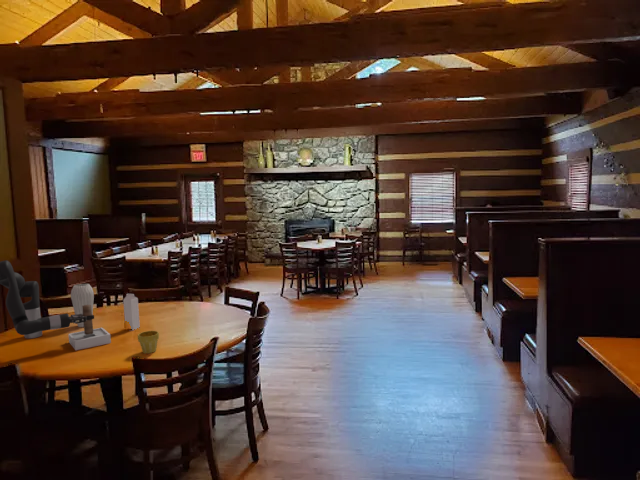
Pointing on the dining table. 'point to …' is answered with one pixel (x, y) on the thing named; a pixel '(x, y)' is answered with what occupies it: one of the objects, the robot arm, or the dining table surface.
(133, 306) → the milk
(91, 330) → the peg
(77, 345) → the tray
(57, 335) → the dining table surface
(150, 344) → the plant pot
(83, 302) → the vase
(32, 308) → the robot arm
